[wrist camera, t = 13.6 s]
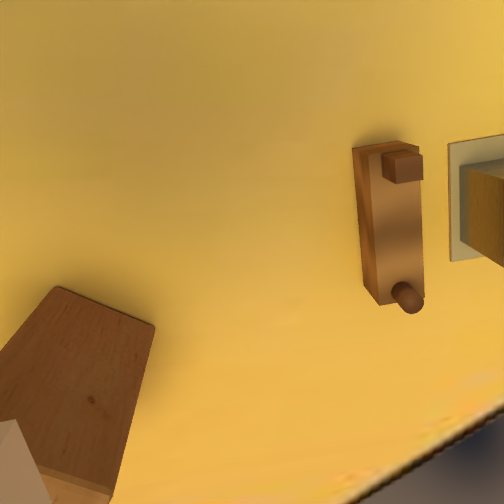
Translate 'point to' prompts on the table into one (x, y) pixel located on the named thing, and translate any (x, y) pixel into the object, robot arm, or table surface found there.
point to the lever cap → (483, 208)
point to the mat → (456, 157)
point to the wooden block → (75, 392)
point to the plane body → (391, 222)
